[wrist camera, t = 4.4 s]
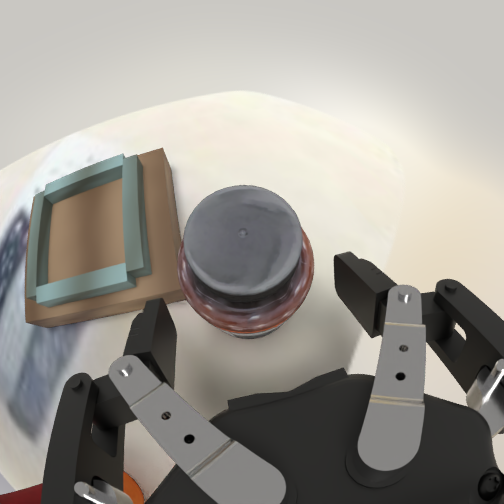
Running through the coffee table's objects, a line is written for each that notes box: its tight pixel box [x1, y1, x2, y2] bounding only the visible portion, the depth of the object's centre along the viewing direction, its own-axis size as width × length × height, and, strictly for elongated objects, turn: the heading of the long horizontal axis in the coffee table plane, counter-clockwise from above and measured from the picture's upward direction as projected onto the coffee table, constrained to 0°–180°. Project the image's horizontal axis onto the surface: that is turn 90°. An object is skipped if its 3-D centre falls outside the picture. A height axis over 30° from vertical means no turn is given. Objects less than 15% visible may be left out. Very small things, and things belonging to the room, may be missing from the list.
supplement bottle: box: [177, 185, 314, 339], centre depth 14 cm, size 6×6×11 cm
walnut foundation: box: [25, 148, 186, 328], centre depth 19 cm, size 14×12×4 cm
